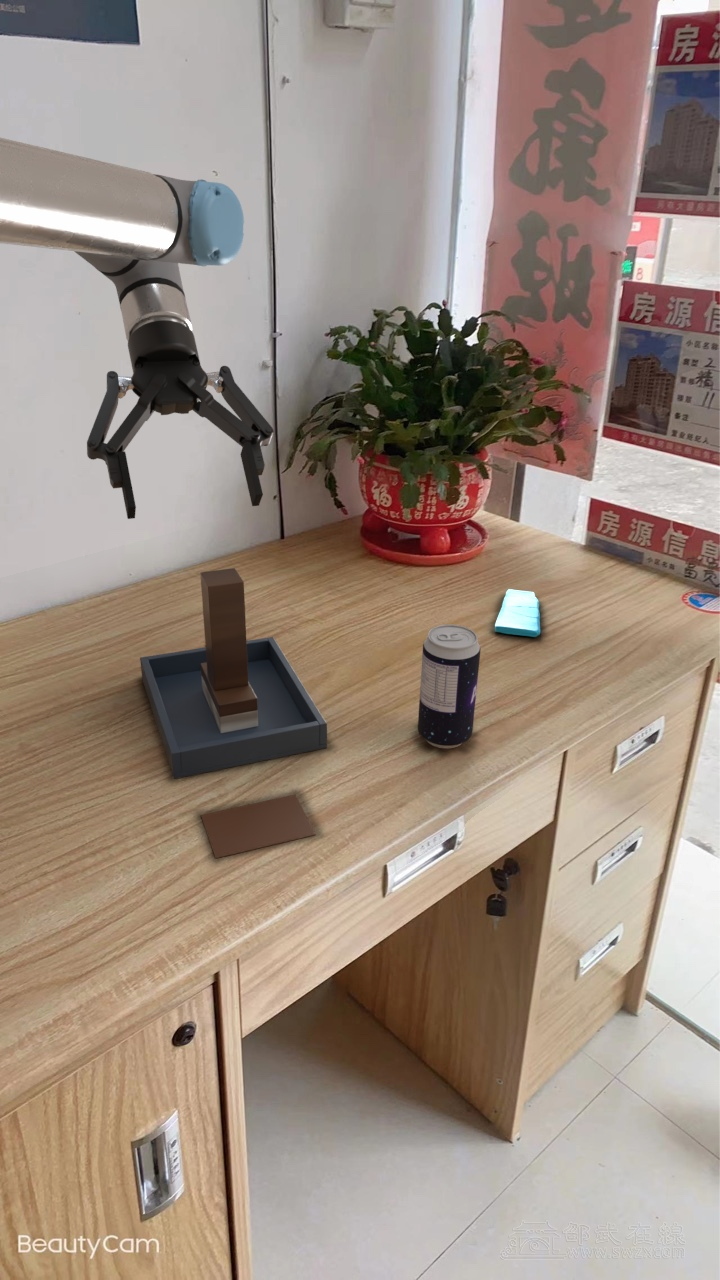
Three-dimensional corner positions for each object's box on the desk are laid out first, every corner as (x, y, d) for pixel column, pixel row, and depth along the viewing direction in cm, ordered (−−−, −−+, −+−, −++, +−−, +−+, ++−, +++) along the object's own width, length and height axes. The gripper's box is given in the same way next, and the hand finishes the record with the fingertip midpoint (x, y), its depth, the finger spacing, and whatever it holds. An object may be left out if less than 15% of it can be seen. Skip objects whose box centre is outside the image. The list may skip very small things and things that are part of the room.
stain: (215, 858, 75) (215, 857, 75) (200, 815, 80) (200, 814, 80) (315, 834, 78) (315, 834, 78) (295, 794, 83) (295, 794, 83)
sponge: (549, 594, 121) (508, 584, 122) (540, 633, 111) (494, 622, 112) (547, 604, 122) (505, 594, 123) (537, 644, 112) (492, 632, 113)
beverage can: (476, 752, 90) (487, 649, 84) (421, 753, 89) (428, 650, 84) (466, 721, 95) (475, 622, 89) (413, 722, 94) (420, 622, 89)
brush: (258, 726, 92) (252, 592, 85) (220, 733, 91) (212, 598, 84) (237, 684, 100) (230, 557, 92) (202, 690, 98) (192, 562, 91)
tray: (174, 779, 85) (171, 753, 83) (142, 680, 101) (139, 657, 100) (327, 747, 90) (327, 723, 89) (273, 658, 106) (273, 636, 105)
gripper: (261, 353, 107) (299, 510, 102) (47, 362, 99) (76, 533, 94) (272, 313, 101) (314, 479, 95) (43, 320, 93) (74, 502, 87)
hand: (196, 507), depth 95 cm, fingers open, 13 cm apart
